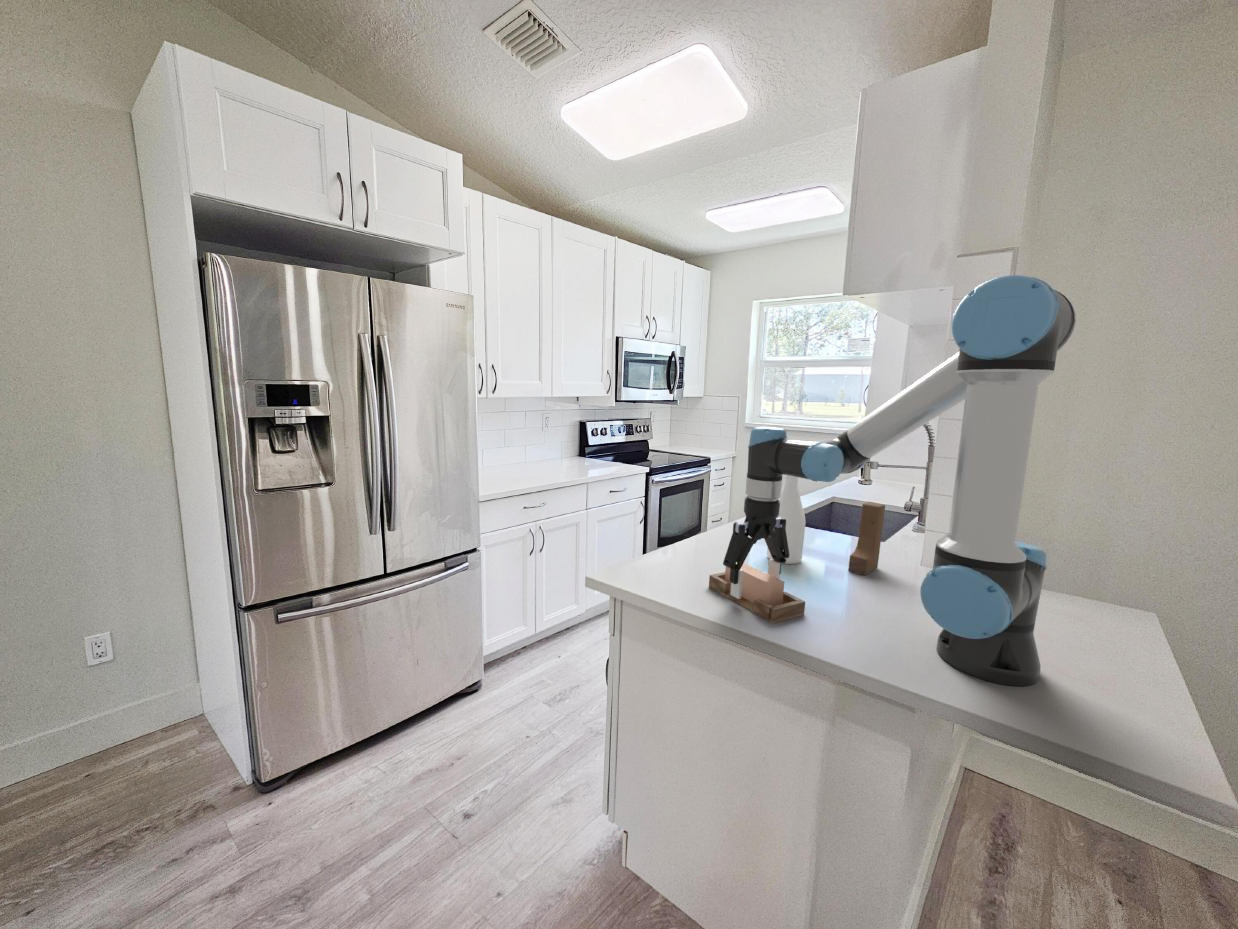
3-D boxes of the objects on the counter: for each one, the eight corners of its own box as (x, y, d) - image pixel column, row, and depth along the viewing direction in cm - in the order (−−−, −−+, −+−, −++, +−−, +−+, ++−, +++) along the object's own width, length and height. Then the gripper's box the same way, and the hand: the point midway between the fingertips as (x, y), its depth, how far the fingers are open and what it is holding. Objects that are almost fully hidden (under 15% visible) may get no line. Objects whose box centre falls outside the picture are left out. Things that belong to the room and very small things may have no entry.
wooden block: (864, 576, 132) (873, 509, 129) (847, 571, 135) (855, 505, 132) (877, 568, 138) (885, 504, 135) (860, 563, 141) (868, 501, 138)
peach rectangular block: (782, 607, 110) (784, 581, 109) (769, 611, 108) (771, 584, 107) (736, 584, 122) (738, 560, 121) (724, 587, 119) (725, 563, 119)
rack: (804, 614, 108) (805, 601, 107) (772, 623, 103) (773, 609, 103) (738, 580, 125) (739, 569, 125) (708, 587, 121) (709, 575, 120)
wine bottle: (804, 566, 137) (815, 458, 132) (768, 563, 138) (778, 456, 134) (797, 555, 146) (808, 453, 141) (764, 552, 148) (773, 451, 143)
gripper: (786, 490, 119) (778, 578, 123) (710, 497, 108) (703, 594, 111) (812, 496, 113) (802, 589, 116) (734, 505, 101) (726, 608, 105)
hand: (754, 592), depth 114 cm, fingers open, 10 cm apart
